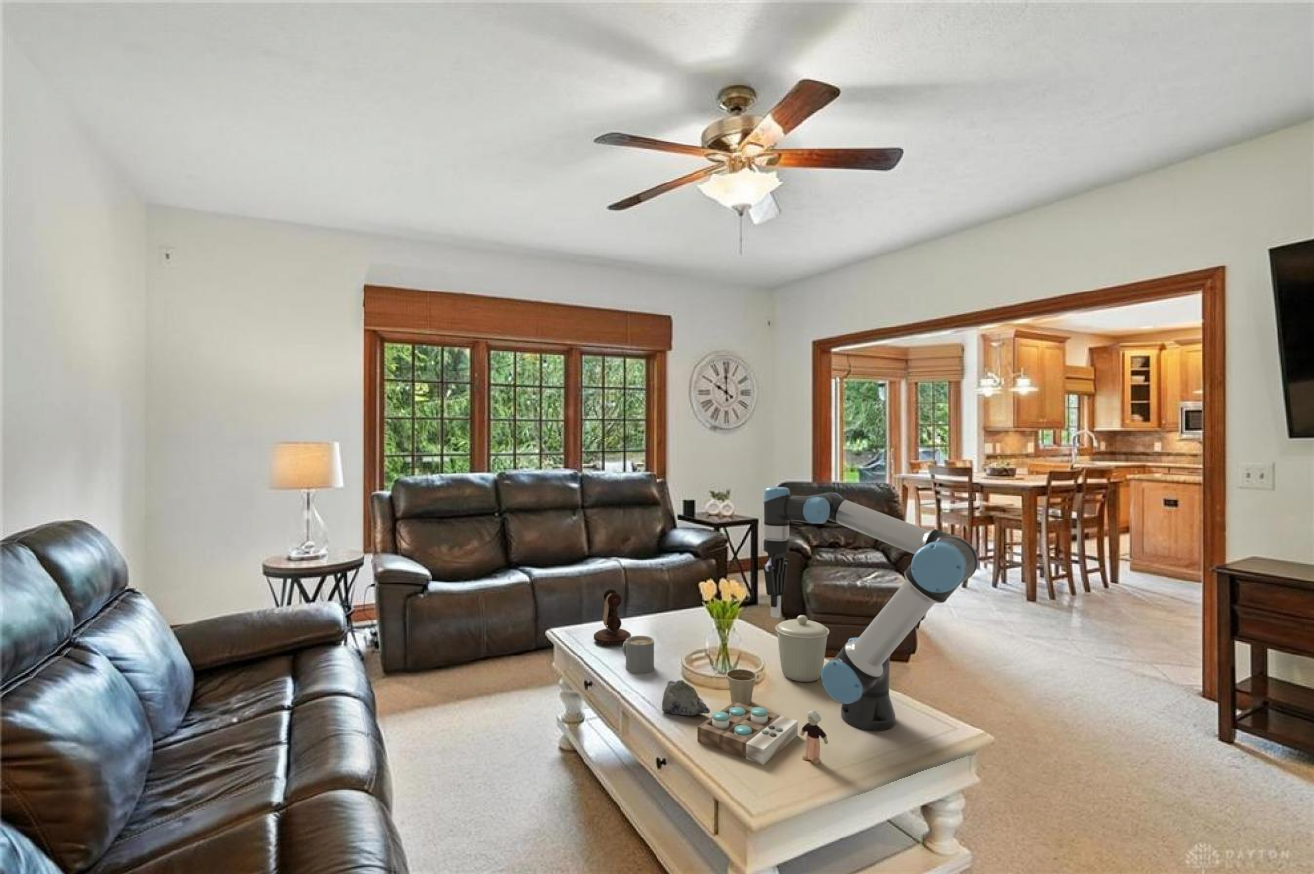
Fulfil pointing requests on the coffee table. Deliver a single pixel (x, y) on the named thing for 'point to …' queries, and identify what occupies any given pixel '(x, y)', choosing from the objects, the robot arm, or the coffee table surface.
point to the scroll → (611, 621)
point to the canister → (802, 648)
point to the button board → (756, 746)
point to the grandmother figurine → (813, 737)
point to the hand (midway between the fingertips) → (775, 616)
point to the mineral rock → (682, 699)
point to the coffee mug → (639, 654)
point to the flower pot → (741, 685)
